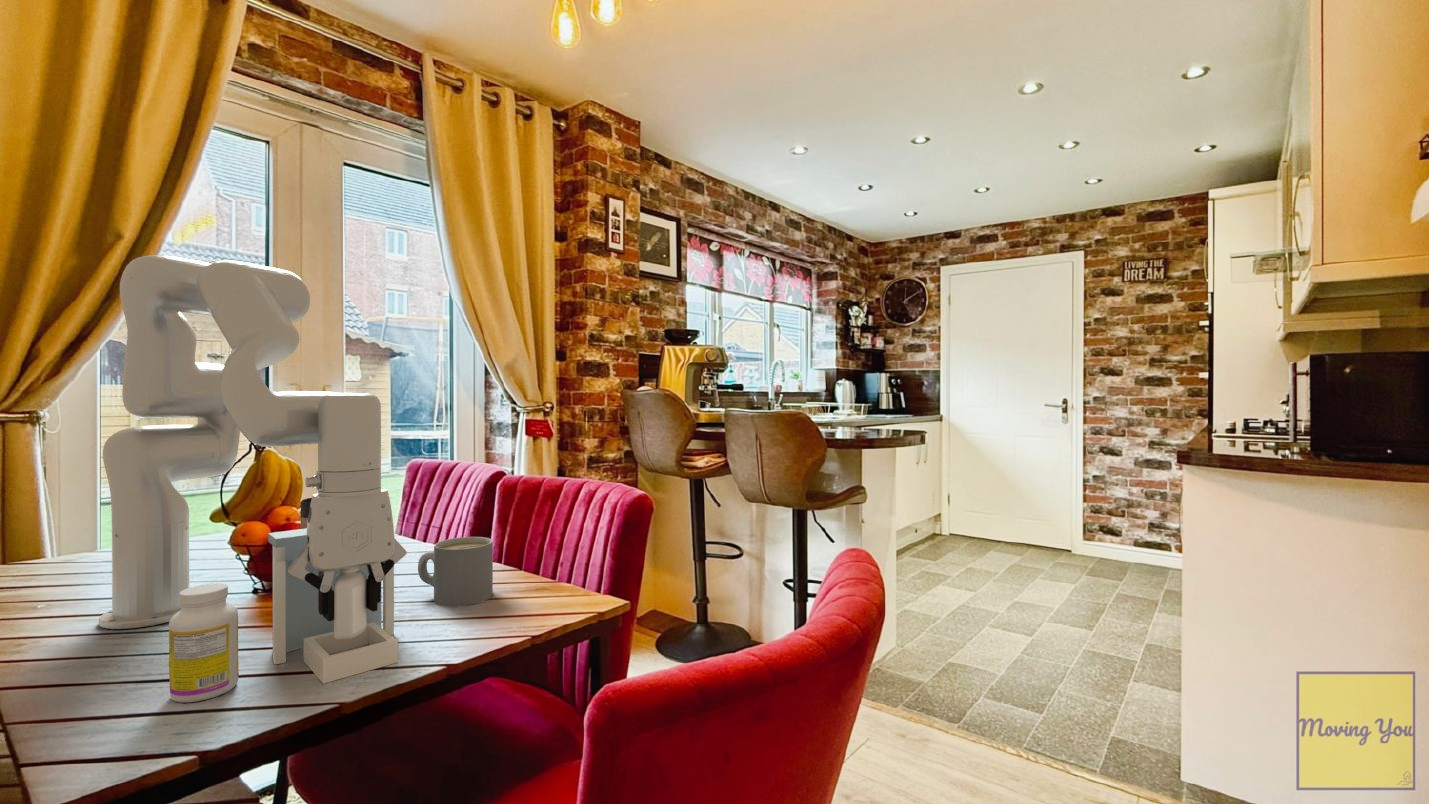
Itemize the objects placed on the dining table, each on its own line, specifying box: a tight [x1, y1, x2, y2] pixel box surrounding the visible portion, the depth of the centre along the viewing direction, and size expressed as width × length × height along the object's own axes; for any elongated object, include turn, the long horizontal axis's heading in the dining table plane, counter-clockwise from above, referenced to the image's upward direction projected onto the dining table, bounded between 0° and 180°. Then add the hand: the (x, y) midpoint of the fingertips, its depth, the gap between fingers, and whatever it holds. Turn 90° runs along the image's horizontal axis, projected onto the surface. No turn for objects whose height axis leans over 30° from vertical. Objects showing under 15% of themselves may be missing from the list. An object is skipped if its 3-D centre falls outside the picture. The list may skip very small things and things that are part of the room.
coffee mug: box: [417, 536, 494, 608], centre depth 114 cm, size 13×10×10 cm
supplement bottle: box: [168, 583, 240, 703], centre depth 77 cm, size 7×7×13 cm
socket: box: [303, 622, 399, 684], centre depth 86 cm, size 10×9×3 cm
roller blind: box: [267, 528, 395, 665], centre depth 92 cm, size 5×15×17 cm, turn 135°
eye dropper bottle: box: [334, 566, 366, 640], centre depth 86 cm, size 4×6×12 cm
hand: (350, 612), depth 86 cm, fingers closed on eye dropper bottle, 4 cm apart
